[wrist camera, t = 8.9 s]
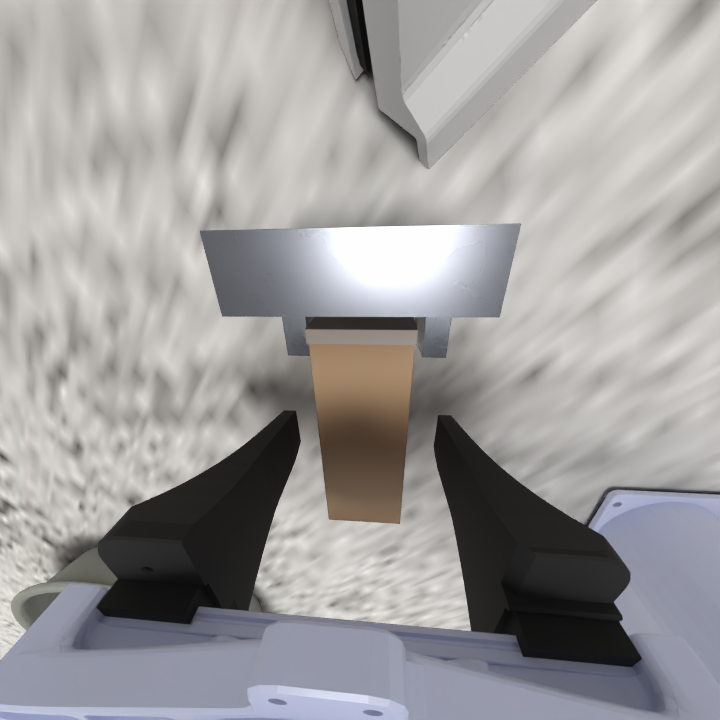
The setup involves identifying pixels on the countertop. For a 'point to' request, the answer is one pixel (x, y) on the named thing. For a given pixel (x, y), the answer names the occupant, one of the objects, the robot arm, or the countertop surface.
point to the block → (362, 411)
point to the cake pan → (80, 571)
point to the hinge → (446, 56)
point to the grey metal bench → (363, 275)
